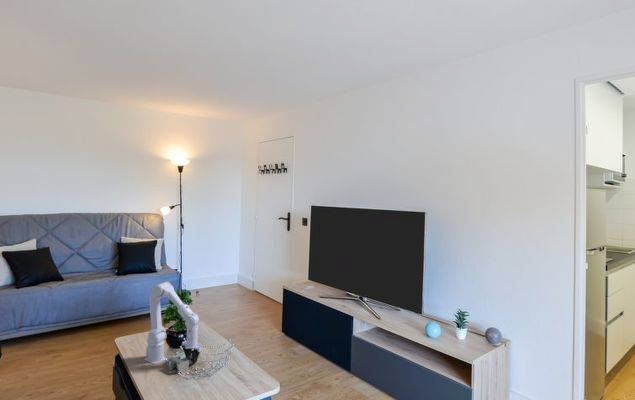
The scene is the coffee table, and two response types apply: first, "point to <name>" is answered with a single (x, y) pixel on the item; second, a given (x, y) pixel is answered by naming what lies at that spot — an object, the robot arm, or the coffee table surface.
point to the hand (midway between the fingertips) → (191, 361)
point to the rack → (181, 355)
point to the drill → (186, 359)
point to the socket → (181, 364)
